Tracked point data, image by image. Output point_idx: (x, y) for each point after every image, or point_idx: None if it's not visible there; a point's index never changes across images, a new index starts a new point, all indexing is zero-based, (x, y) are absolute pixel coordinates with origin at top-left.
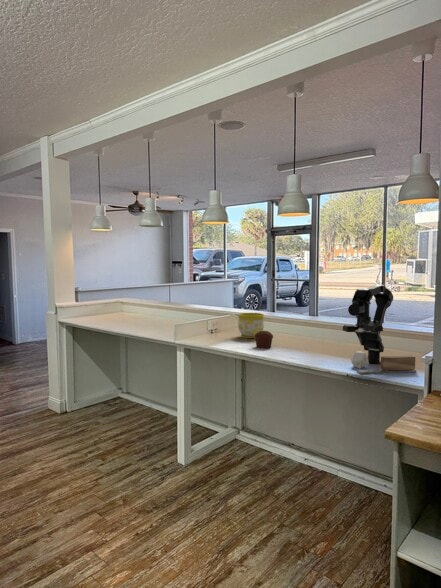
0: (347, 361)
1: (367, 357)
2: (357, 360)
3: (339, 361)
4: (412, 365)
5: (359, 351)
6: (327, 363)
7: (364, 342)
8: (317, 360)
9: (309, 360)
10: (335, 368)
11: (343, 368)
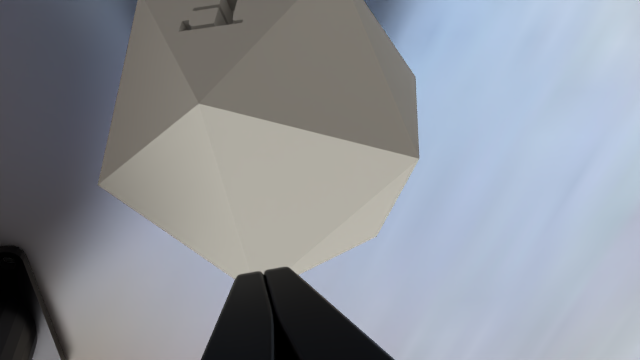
0: None
1: (125, 127)
2: (366, 8)
3: (373, 339)
4: None
5: (276, 244)
6: (537, 255)
7: (225, 329)
8: (559, 353)
9: (624, 346)
10: (586, 34)
11: (494, 28)
